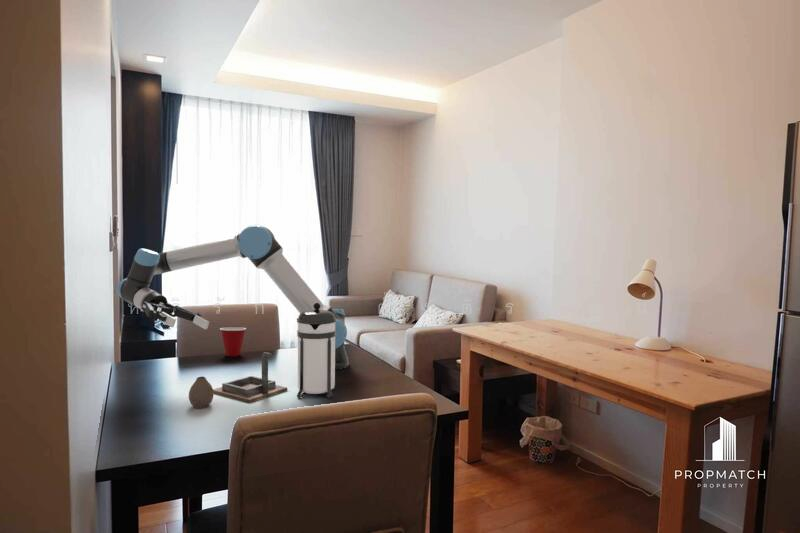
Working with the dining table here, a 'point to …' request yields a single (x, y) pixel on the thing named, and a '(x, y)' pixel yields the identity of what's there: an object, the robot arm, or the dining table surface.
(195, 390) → the vase
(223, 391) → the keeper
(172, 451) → the dining table surface
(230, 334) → the plastic cup
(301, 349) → the coffee press
